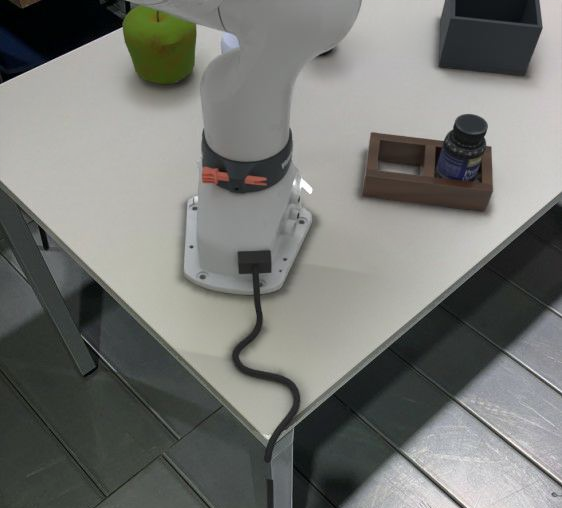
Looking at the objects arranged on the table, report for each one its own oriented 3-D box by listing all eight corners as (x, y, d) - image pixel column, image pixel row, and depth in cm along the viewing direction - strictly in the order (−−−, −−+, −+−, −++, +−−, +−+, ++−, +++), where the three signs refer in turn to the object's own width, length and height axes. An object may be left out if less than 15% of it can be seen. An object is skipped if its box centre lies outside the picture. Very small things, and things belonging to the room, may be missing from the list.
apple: (143, 49, 114) (132, -16, 105) (208, 57, 113) (202, -7, 104) (122, 89, 108) (108, 24, 98) (190, 99, 107) (182, 34, 97)
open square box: (524, 76, 112) (542, 27, 105) (438, 66, 113) (450, 18, 106) (520, 28, 121) (537, -20, 113) (440, 20, 122) (451, -28, 114)
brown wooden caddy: (484, 211, 94) (493, 191, 91) (361, 196, 95) (365, 175, 92) (483, 167, 99) (491, 146, 96) (367, 153, 101) (370, 131, 97)
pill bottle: (461, 204, 95) (483, 143, 86) (425, 188, 97) (442, 127, 87) (477, 180, 98) (499, 119, 88) (441, 166, 99) (460, 104, 90)
